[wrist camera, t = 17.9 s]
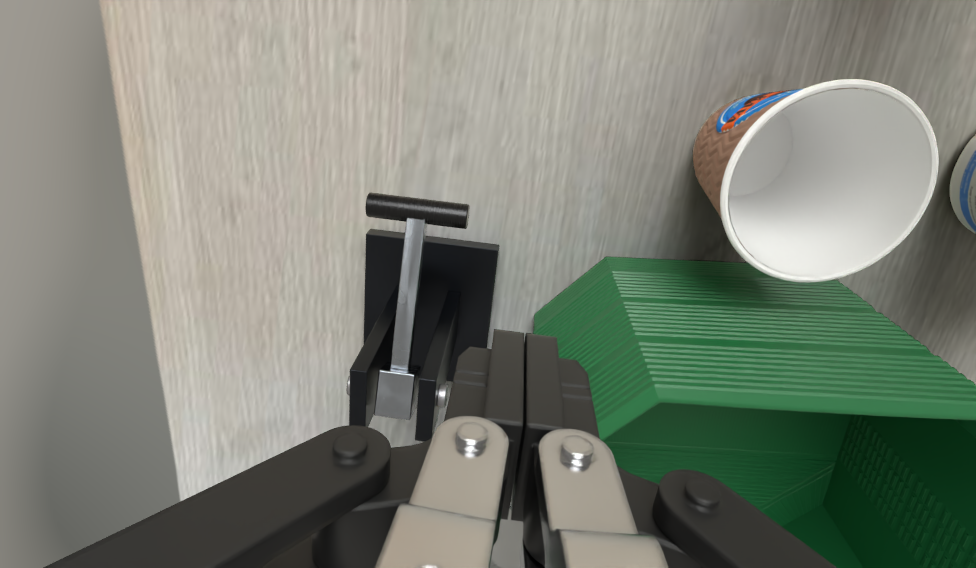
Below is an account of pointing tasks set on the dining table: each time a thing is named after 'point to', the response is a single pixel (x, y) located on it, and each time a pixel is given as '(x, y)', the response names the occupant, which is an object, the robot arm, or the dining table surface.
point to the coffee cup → (818, 176)
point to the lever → (408, 294)
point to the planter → (779, 403)
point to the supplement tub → (965, 186)
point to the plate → (507, 544)
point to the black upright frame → (422, 319)
